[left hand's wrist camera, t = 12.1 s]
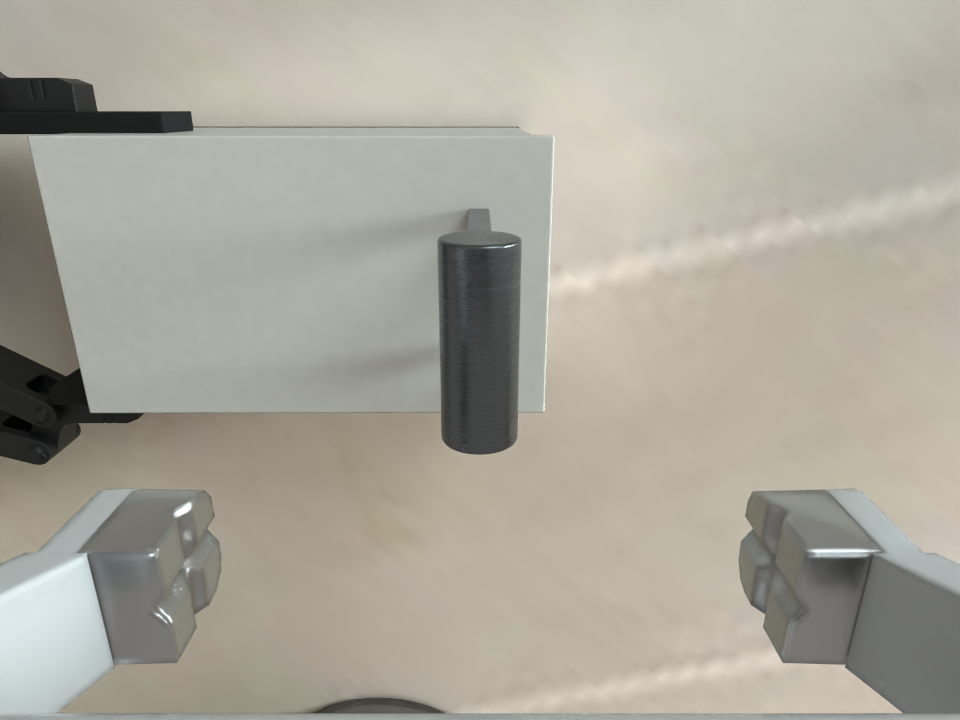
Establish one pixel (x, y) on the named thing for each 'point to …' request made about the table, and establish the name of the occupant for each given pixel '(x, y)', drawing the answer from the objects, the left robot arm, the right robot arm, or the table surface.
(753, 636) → the table surface
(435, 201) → the lid
